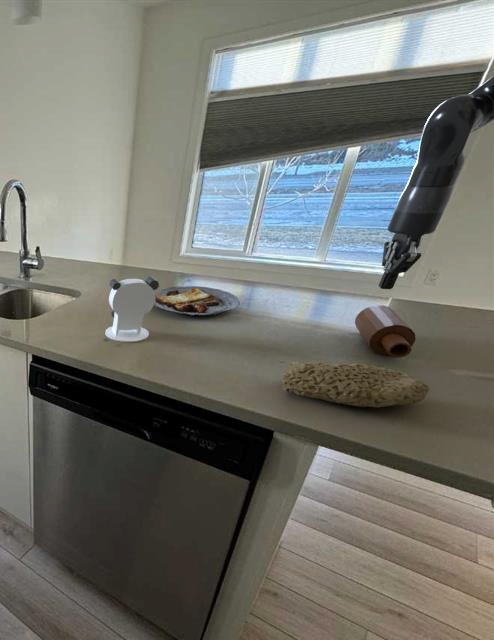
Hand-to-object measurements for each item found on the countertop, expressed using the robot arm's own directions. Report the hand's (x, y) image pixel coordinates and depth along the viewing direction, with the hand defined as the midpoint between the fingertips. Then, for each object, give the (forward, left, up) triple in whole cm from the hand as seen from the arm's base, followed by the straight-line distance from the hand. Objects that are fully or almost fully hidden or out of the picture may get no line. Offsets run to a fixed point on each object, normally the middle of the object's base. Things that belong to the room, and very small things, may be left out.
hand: (384, 288), depth 94 cm
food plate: (+40, -11, -11) cm, 43 cm away
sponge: (+12, +36, -11) cm, 39 cm away
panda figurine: (+55, +15, -11) cm, 58 cm away
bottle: (0, +1, -8) cm, 8 cm away
